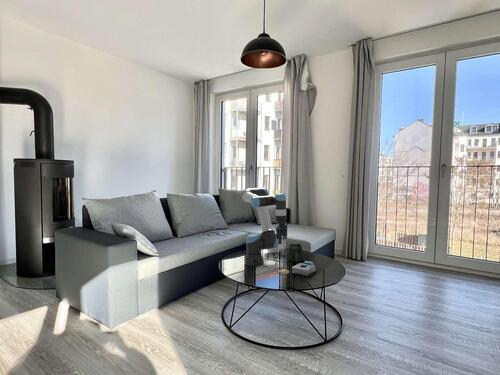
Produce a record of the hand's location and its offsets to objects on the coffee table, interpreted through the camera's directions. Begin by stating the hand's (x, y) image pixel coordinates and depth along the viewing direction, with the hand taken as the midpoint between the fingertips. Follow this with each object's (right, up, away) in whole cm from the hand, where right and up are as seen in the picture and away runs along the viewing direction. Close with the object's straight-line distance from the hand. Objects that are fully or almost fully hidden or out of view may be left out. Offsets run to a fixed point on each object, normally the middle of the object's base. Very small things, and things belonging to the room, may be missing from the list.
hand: (282, 247), depth 206 cm
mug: (+13, -16, +29) cm, 35 cm away
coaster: (+1, -18, +1) cm, 18 cm away
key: (0, -5, 0) cm, 5 cm away
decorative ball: (-1, -15, +53) cm, 55 cm away
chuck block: (+16, -17, +1) cm, 23 cm away
